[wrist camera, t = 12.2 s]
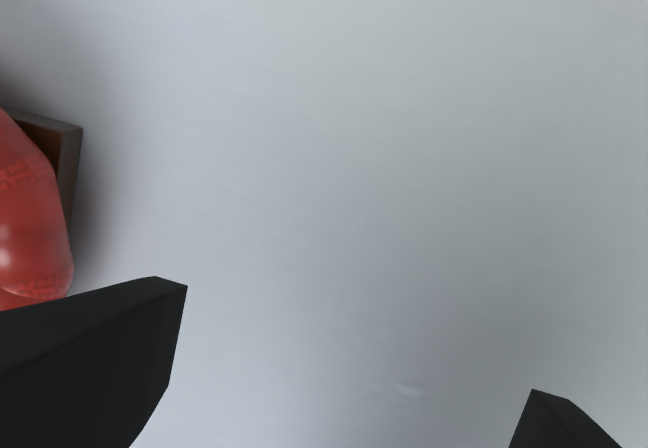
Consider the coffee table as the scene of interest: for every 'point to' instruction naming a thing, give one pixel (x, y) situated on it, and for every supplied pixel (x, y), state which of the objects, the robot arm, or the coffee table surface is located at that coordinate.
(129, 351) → the robot arm
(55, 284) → the ring
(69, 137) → the post
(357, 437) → the coffee table surface
